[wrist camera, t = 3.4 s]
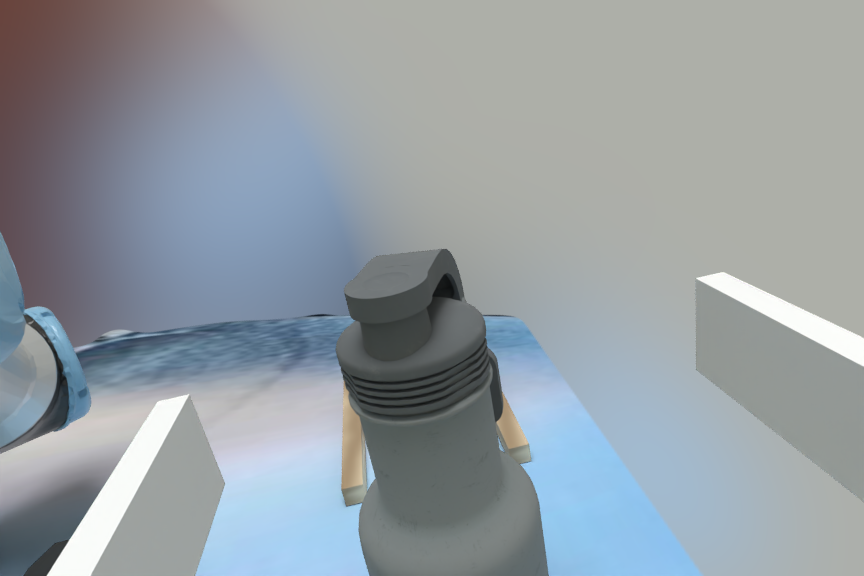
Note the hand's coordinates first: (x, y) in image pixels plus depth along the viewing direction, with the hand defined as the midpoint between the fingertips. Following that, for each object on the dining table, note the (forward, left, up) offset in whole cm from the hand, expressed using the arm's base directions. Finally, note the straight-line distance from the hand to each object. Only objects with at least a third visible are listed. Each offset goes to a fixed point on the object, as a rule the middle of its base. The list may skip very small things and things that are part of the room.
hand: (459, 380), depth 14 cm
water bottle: (-1, +11, -28) cm, 30 cm away
